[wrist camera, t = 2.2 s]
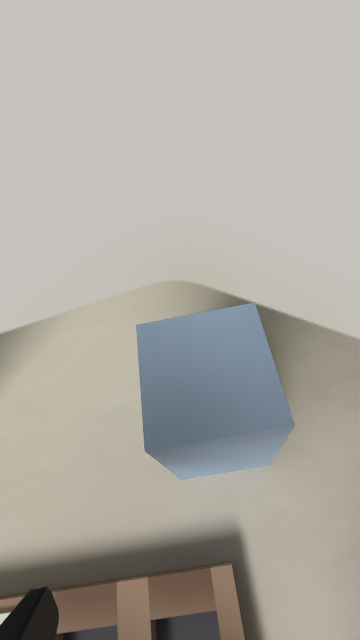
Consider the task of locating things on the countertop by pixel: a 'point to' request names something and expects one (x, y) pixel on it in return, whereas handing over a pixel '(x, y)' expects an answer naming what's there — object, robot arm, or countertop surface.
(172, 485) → the countertop surface
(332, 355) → the countertop surface
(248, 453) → the blue block
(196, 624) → the board
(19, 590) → the countertop surface
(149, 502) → the countertop surface
